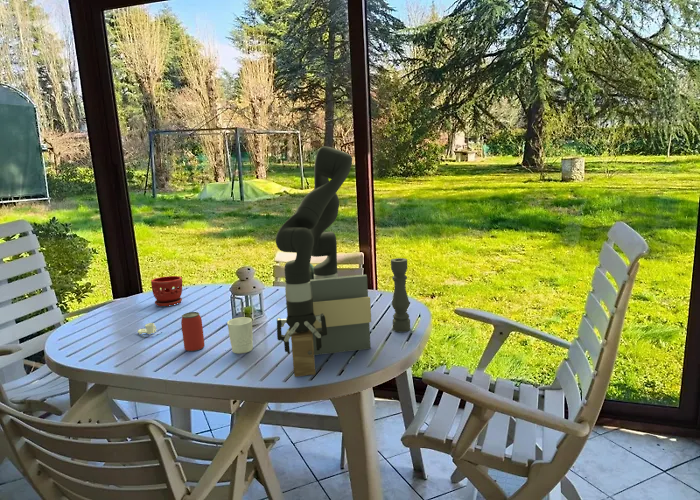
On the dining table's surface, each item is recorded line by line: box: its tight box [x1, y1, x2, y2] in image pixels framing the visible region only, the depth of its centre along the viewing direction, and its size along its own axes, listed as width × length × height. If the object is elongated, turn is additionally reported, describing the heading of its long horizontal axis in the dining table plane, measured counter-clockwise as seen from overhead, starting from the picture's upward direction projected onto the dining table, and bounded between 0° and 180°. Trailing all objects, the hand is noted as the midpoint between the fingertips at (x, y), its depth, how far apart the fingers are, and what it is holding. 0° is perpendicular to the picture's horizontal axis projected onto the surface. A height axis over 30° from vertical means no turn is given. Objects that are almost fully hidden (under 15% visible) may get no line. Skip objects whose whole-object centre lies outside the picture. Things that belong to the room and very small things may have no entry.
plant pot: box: [150, 275, 183, 307], centre depth 220 cm, size 13×13×12 cm
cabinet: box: [290, 330, 317, 378], centre depth 142 cm, size 10×6×12 cm, turn 9°
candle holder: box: [390, 257, 411, 333], centre depth 170 cm, size 6×6×25 cm
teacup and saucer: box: [137, 322, 157, 335], centre depth 182 cm, size 9×8×4 cm
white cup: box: [226, 316, 254, 355], centre depth 161 cm, size 8×8×10 cm
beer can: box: [180, 311, 205, 352], centre depth 164 cm, size 7×7×12 cm
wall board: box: [310, 274, 372, 356], centre depth 154 cm, size 12×24×24 cm, turn 99°
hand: (303, 351), depth 141 cm, fingers open, 8 cm apart
